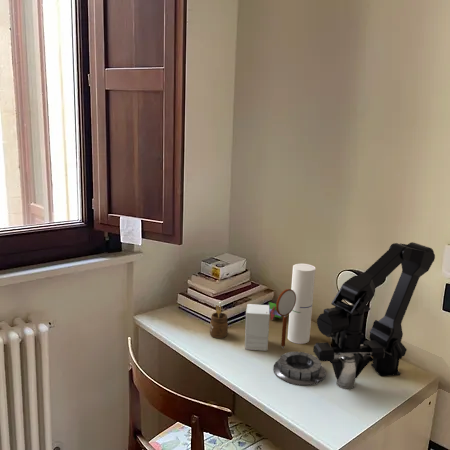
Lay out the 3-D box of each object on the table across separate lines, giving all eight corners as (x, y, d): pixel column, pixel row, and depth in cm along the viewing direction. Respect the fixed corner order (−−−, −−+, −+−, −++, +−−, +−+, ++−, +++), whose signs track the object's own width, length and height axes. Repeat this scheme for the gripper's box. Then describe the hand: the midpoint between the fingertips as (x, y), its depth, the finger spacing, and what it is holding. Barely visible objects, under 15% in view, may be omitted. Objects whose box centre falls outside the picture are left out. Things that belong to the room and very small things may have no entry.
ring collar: (315, 357, 159) (316, 348, 158) (332, 384, 144) (333, 374, 144) (267, 359, 156) (268, 350, 155) (281, 387, 142) (281, 377, 141)
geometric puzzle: (276, 320, 178) (284, 298, 181) (259, 315, 182) (266, 294, 184) (283, 325, 184) (290, 305, 186) (266, 320, 188) (273, 300, 190)
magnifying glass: (275, 353, 160) (279, 293, 155) (271, 351, 161) (275, 291, 156) (293, 345, 166) (298, 287, 161) (289, 343, 167) (294, 285, 162)
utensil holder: (228, 331, 173) (229, 298, 170) (226, 340, 167) (227, 305, 164) (210, 329, 174) (212, 296, 171) (208, 338, 168) (209, 304, 165)
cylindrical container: (310, 344, 167) (317, 271, 160) (288, 343, 167) (294, 270, 161) (307, 334, 174) (313, 264, 167) (286, 333, 174) (291, 263, 167)
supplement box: (267, 340, 168) (270, 304, 165) (267, 351, 161) (269, 314, 158) (245, 338, 169) (247, 303, 166) (243, 349, 162) (245, 312, 158)
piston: (350, 379, 147) (353, 351, 145) (357, 388, 142) (360, 360, 140) (333, 380, 146) (336, 352, 144) (340, 389, 142) (343, 361, 139)
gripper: (370, 313, 149) (365, 361, 153) (309, 315, 146) (305, 364, 150) (388, 330, 139) (382, 382, 143) (322, 333, 135) (317, 386, 139)
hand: (346, 377), depth 144 cm, fingers closed on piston, 5 cm apart
